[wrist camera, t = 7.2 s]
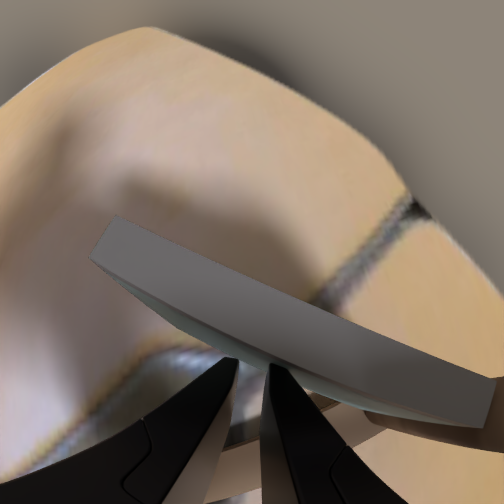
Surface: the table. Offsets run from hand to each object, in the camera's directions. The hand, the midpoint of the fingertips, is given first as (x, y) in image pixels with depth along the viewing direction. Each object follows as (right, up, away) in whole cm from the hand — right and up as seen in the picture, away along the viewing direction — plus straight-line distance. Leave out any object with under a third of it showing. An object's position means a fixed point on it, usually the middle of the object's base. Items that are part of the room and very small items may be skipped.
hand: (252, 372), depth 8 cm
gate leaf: (+1, -2, +6) cm, 7 cm away
